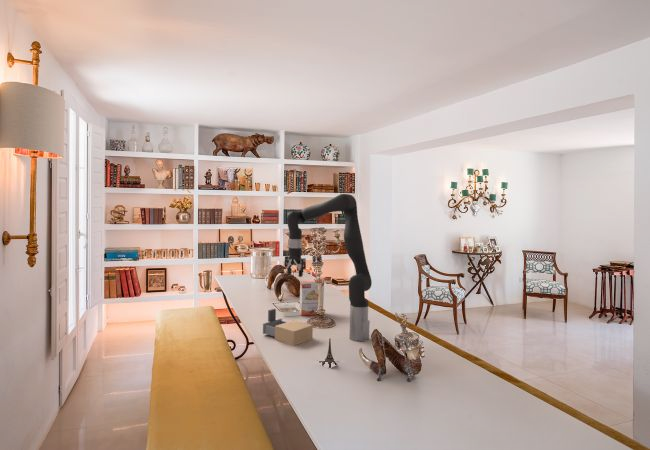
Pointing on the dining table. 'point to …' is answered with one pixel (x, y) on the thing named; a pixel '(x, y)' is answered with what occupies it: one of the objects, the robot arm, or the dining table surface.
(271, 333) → the tray
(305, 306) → the cracker box
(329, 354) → the eiffel tower figurine
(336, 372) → the dining table surface
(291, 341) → the mailer sleeve
